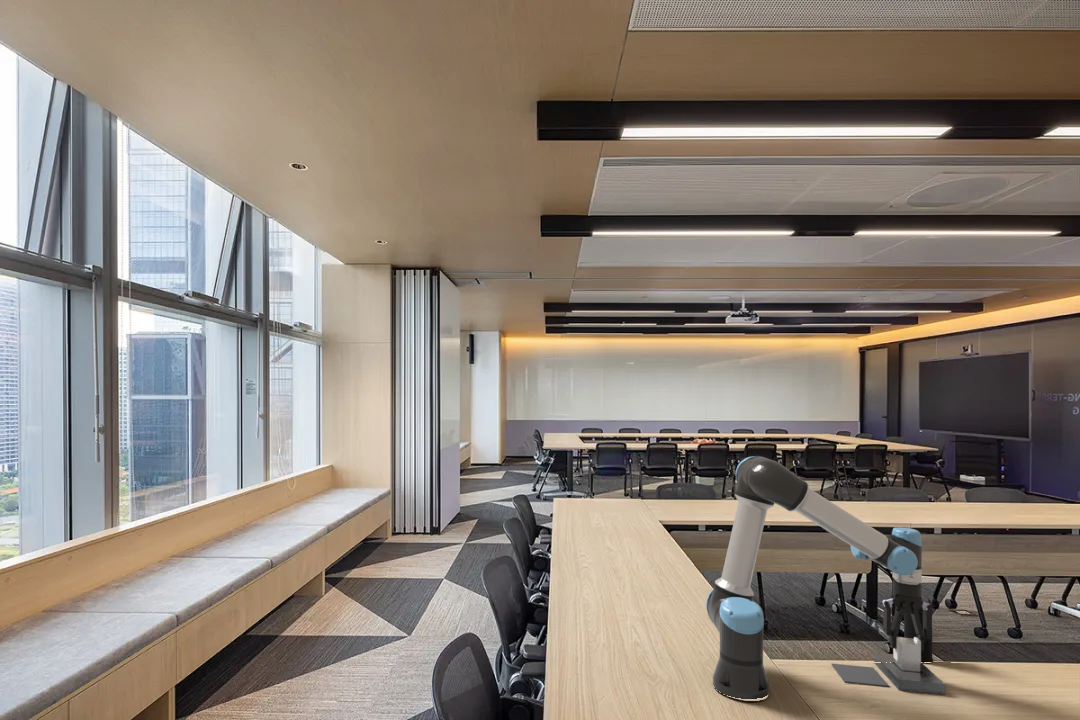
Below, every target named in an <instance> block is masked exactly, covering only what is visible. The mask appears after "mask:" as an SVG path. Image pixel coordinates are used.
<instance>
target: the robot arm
mask: <svg viewBox="0 0 1080 720" xmlns="http://www.w3.org/2000/svg"><path fill="white" fill-rule="evenodd" d="M735 479H736V482H737V483H736V488H735V491H734V492H735V493H734V496H735V498H736V499H737V507H736V512H735V515H734V519H733V525H732V529H731V533H730V537H729V538H730V539H729V543H728V547H727V550H726V554H725V555H726V556H725V561H724V565H723V569H722V572H721V577H720V578H718V579H715V581H714V585H713V589H712V590H711V591H710V592H709V593H708V595H707V597H706V602H705V607H706V612H707V616H708V619H710V621H711V623H712V624H713V626H714V627H715V629H716V630H717V631H718V632H719V658H718V660H717V663H716V667H715V669H714V673H713V674H712V675H713V676H712V686H713V685H714V687H715V688H716V689H717V690H718V691H720V692H721V693H723V694H725V695H728V696H731V697H735V698H741V699H757V698H763V697H765V696H767V695H768V694H769V695H770V692H769V691H771V690H770V683H769V680H768V676H767V673H766V670H765V666H764V625H765V617H764V611H763V609H762V607H761V606H760V605H759V604H758V603H756V602H755V601H753V600H754V597H755V596H754V595H755V593H754V592H753V589H752V587H751V585H752V580H753V575H754V572H755V566H756V562H757V557H758V553H759V549H760V544H761V540H762V536H763V531H764V526H765V522H766V517H767V513H768V510H769V509H771V508H773V507H774V506H775V505H778V506H779V507H782V508H783V509H785V510H787V511H789V512H796V513H798V514H800V515H801V516H803V517H805V518H806V519H808V520H809V521H811V522H813V523H814V524H815V525H817V526H819V527H821V528H822V529H824V530H825V531H826V532H828V533H830V534H832V535H834V536H835V537H836V538H838V539H840V540H841V541H843V542H845V543H846V544H848V545H850V551H851V553H852V556H853V557H854V558H855V559H859V560H864V561H866V560H871V561H873V562H874V563H876V564H878V565H880V566H882V567H883V568H886V569H887V570H889V571H891V572H892V574H891V575H892V578H893V579H892V594H891V597H890V598H889V599H885V598H882V599H881V604H882V607H883V617H882V618H883V619H882V620H883V621H882V622H883V625H882V627H883V628H882V631H883V633H885V634H886V635H887V636H889V638H890V639H889V644H890V647H891V648H892V649H893V650H892V652H893V654H892V655H893V657H894V658H895V659H896V660H897V661H900V639H899V638H898V637H899V633H900V629H901V626H902V625H901V624H902V621H903V619H904V614H905V613H910V614H911V616H912V620H913V624H914V628H915V631H916V635H917V637H914V640H915V641H916V642H917V643H918V644H919V645H920V664H921V651H924V642H925V641H926V639H931V612H932V610H933V608H934V607H933V605H932V604H931V603H929V602H926V601H925V602H924V601H923V598H922V596H923V595H922V593H923V585H922V584H921V582H922V581H923V580H922V579H923V578H922V577H923V575H922V564H923V563H922V562H923V561H922V555H923V554H922V553H923V551H922V549H923V543H922V542H923V541H922V534H921V532H920V531H919V530H917V529H914V528H908V527H893V529H892V531H891V534H890V533H889V534H883V533H882V532H880V531H878V530H877V529H875V528H873V527H872V526H870V525H869V524H868V523H865V522H863V520H860V519H859V518H857V517H856V516H854V514H853V515H852V514H851V513H849V512H848V511H846V510H845V509H843V508H842V507H840V506H838V505H836V504H835V503H833V502H832V501H830V500H828V499H827V498H825V497H824V496H822V495H820V494H819V493H817V492H816V491H815V490H813V489H811V488H810V487H809V482H806V481H805V480H804V479H802V478H800V477H799V476H797V475H796V474H794V473H793V472H792V471H791V470H789V469H788V468H787V467H785V466H784V465H782V463H781V462H777V461H776V460H773V459H769V458H767V457H764V456H759V455H754V456H748V457H746V458H744V459H742V460H741V461H740V462H739V464H737V467H736V469H735ZM893 605H894V606H895V609H894V615H893V619H892V607H893ZM921 606H922V609H923V630H922V626H921V623H920V619H919V613H918V610H919V609H920V607H921ZM932 613H933V612H932ZM714 687H713V688H714ZM715 688H714V689H715ZM718 691H717V692H718Z"/></svg>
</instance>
